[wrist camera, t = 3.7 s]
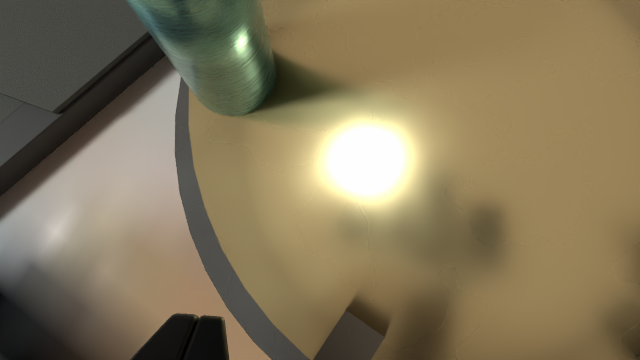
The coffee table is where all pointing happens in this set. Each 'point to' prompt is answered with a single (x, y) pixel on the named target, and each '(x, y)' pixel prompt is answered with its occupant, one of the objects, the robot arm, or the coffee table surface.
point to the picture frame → (62, 72)
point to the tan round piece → (421, 170)
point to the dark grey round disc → (210, 251)
